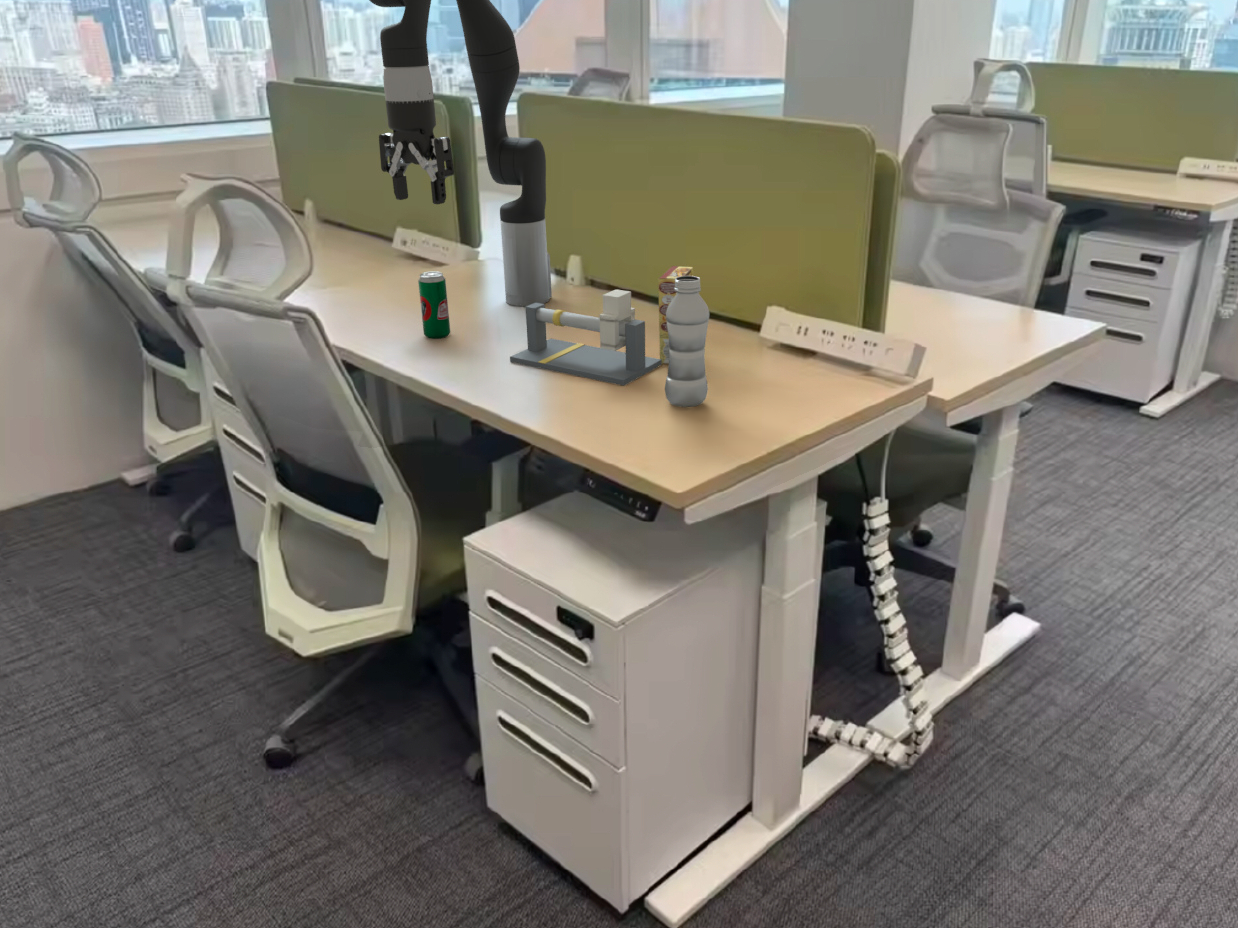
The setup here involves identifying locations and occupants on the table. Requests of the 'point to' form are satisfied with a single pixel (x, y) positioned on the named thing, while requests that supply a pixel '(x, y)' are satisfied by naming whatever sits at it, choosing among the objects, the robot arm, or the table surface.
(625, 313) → the collar
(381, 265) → the table surface
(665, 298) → the candy box
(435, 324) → the soda can
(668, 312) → the plastic bottle
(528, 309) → the rail stand
